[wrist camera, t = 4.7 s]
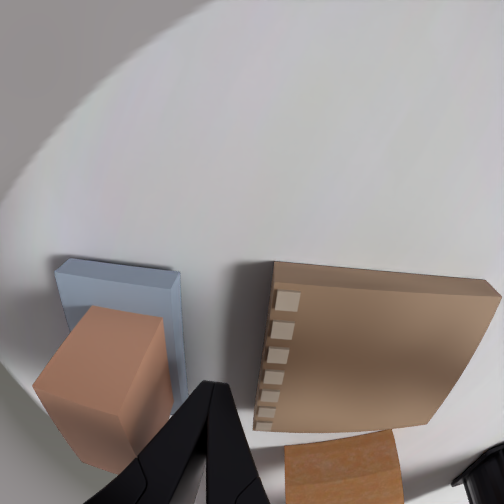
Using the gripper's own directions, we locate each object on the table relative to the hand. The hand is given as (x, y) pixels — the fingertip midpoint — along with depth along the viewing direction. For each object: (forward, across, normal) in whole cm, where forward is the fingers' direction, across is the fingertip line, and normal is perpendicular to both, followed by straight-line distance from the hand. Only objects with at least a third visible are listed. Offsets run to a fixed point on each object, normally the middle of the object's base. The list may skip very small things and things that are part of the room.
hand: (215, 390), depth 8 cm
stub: (+2, +3, 0) cm, 4 cm away
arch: (+2, -9, +16) cm, 18 cm away
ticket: (+2, -5, 0) cm, 6 cm away
